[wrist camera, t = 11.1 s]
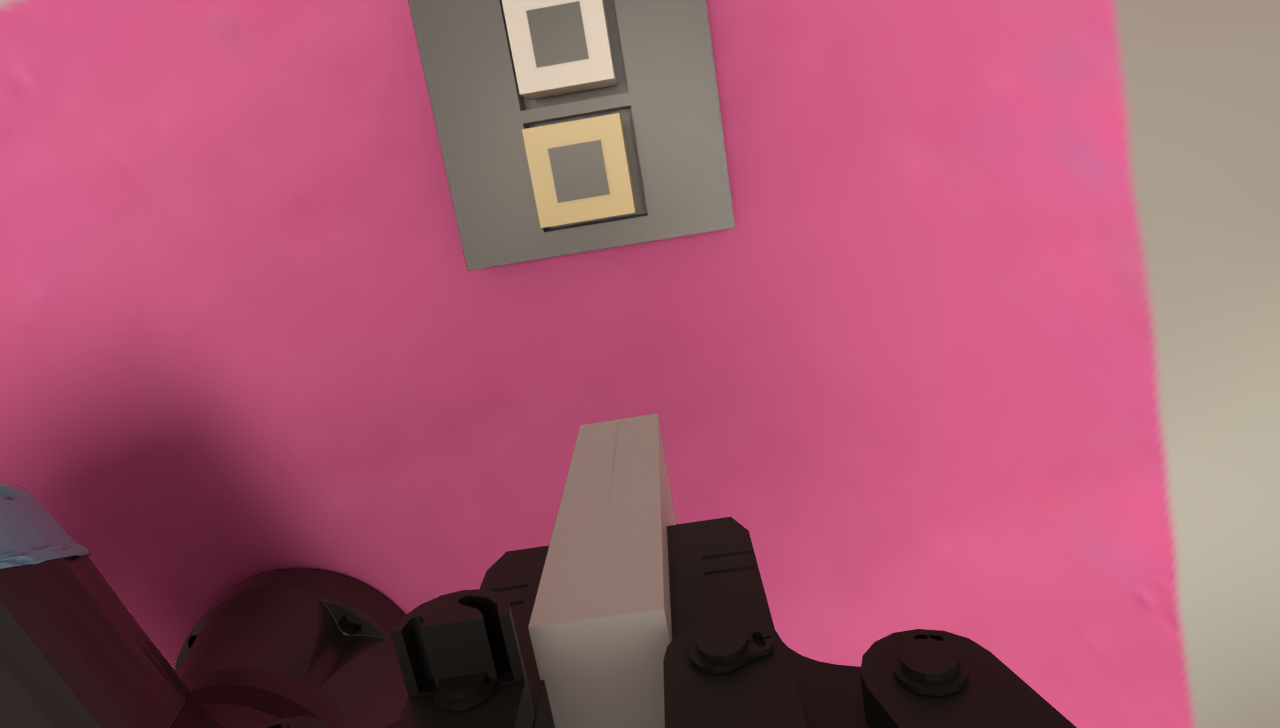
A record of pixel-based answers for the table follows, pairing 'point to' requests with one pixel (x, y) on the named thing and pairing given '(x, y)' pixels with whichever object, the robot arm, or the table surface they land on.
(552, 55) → the key
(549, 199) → the key
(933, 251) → the table surface
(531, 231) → the keypad
